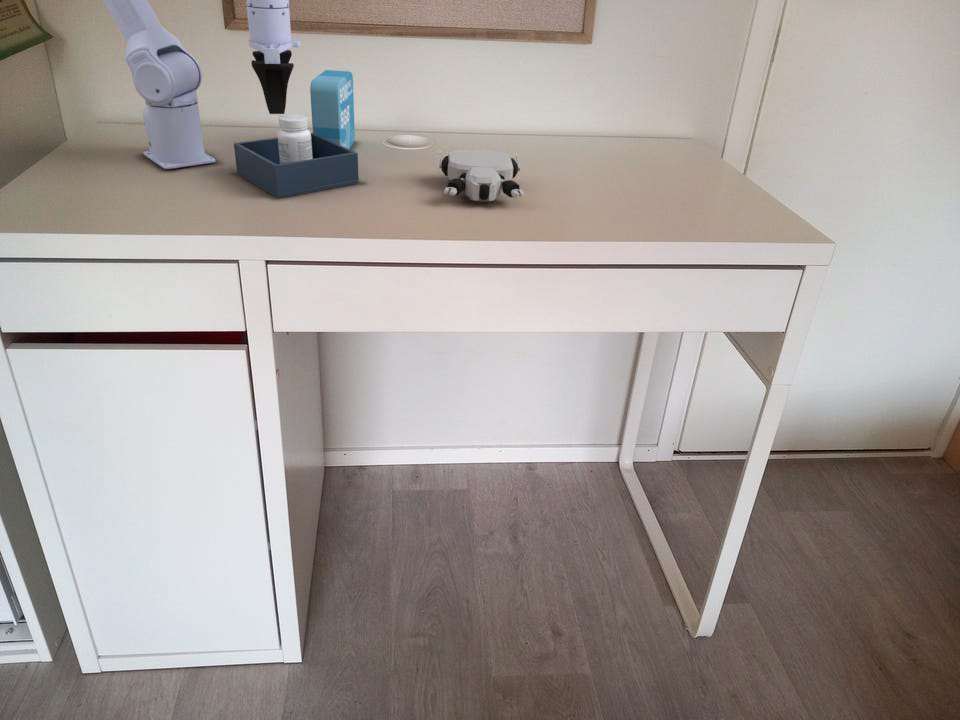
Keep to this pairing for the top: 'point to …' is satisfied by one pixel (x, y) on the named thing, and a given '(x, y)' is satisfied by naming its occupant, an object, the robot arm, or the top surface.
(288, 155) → the pill bottle
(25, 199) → the top surface
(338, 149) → the tote
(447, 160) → the robot toy
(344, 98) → the blue carton
